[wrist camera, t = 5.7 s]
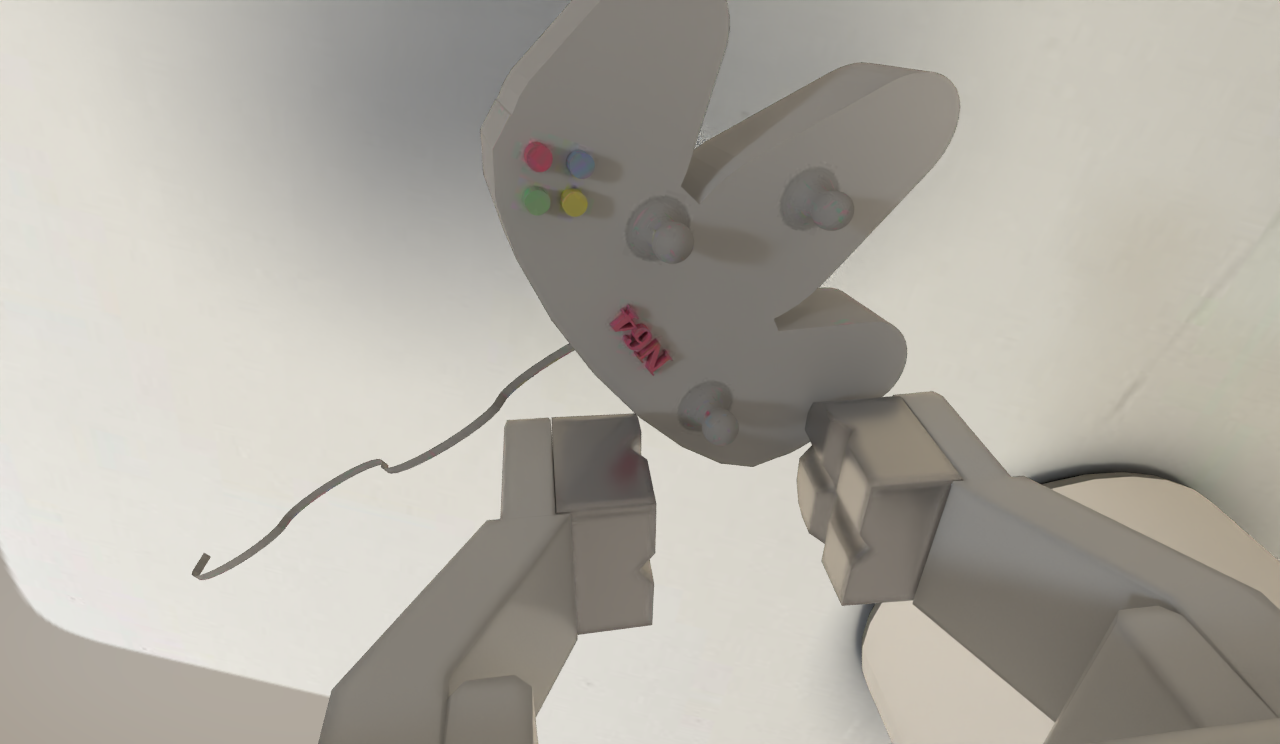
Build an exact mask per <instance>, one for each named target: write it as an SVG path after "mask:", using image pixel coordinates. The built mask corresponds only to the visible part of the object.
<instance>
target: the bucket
mask: <svg viewBox="0 0 1280 744" xmlns="http://www.w3.org/2000/svg"><path fill="white" fill-rule="evenodd" d="M1041 485H1043V486H1046V487H1048V488H1050V489H1052V490H1054V491H1056V492H1058V493H1060V494H1062V495H1064V496H1066V497H1068V498H1070V499H1072V500H1074V501H1076V502H1078V503H1080V504H1082V505H1084V506H1086V507H1088V508H1090V509H1093V510H1095V511H1097V512H1099V513H1101V514H1103V515H1105V516H1107V517H1109V518H1111V519H1113V520H1115V521H1117V522H1119V523H1121V524H1123V525H1125V526H1127V527H1129V528H1131V529H1133V530H1135V531H1138V532H1140V533H1142V534H1144V535H1146V536H1148V537H1150V538H1152V539H1154V540H1156V541H1158V542H1160V543H1162V544H1164V545H1166V546H1168V547H1170V548H1172V549H1174V550H1176V551H1178V552H1180V553H1182V554H1185V555H1187V556H1189V557H1191V558H1193V559H1195V560H1197V561H1199V562H1201V563H1203V564H1205V565H1207V566H1209V567H1211V568H1213V569H1215V570H1217V571H1219V572H1221V573H1223V574H1225V575H1227V576H1230V577H1232V578H1234V579H1236V580H1238V581H1240V582H1242V583H1244V584H1246V585H1248V586H1250V587H1252V588H1254V589H1256V590H1258V591H1260V592H1262V593H1263V594H1264V595H1265V596H1266V597H1267V598H1268V599H1269V600H1270V601H1271V602H1272V603H1273V604H1274V605H1275V606H1277V607H1278V608H1279V609H1280V562H1279V561H1278V560H1277V559H1276V558H1275V557H1274V556H1273V555H1271V554H1270V553H1269V552H1268V551H1267V550H1266V549H1265V548H1263V547H1262V546H1261V545H1260V544H1259V543H1258V542H1257V541H1255V540H1254V539H1253V538H1252V537H1251V536H1250V535H1249V534H1248V533H1246V532H1245V531H1244V530H1243V529H1242V528H1241V527H1240V526H1238V525H1237V524H1236V523H1235V522H1234V521H1233V520H1232V519H1230V518H1229V517H1228V516H1227V515H1226V514H1225V513H1224V512H1222V511H1221V510H1220V509H1219V508H1218V507H1217V506H1216V505H1215V504H1213V503H1212V502H1211V501H1209V500H1208V499H1206V498H1205V497H1204V496H1202V495H1201V494H1200V493H1198V492H1197V491H1196V490H1194V489H1191V488H1188V487H1186V486H1183V485H1181V484H1178V483H1175V482H1172V481H1169V480H1167V479H1164V478H1161V477H1158V476H1155V475H1146V474H1136V473H1127V472H1115V473H1101V474H1087V475H1081V476H1077V477H1072V478H1068V479H1063V480H1058V481H1054V482H1049V483H1045V484H1041ZM912 603H913V600H912V601H898V602H885V603H876V604H875V605H874V607H873V609H872V611H871V612H870V614H869V617H868V620H867V624H866V627H865V630H864V633H863V636H862V671H863V674H864V677H865V680H866V683H867V686H868V688H869V691H870V693H871V695H872V698H873V700H874V702H875V704H876V707H877V709H878V711H879V714H880V716H881V718H882V720H883V723H884V725H885V727H886V730H887V732H888V734H889V736H890V739H891V741H892V743H893V744H1043V743H1044V741H1045V739H1046V738H1047V736H1048V734H1049V732H1050V731H1051V729H1052V727H1053V725H1054V724H1055V722H1053V721H1052V720H1051V719H1050V718H1049V717H1047V716H1046V715H1045V714H1044V713H1043V712H1041V711H1040V710H1039V709H1038V708H1037V707H1035V706H1034V705H1033V704H1032V703H1031V702H1029V701H1028V700H1027V699H1026V698H1025V697H1023V696H1022V695H1021V694H1020V693H1019V692H1017V691H1016V690H1015V689H1014V688H1013V687H1011V686H1010V685H1009V684H1008V683H1007V682H1005V681H1004V680H1003V679H1002V678H1001V677H999V676H998V675H997V674H996V673H995V672H993V671H992V670H991V669H990V668H989V667H987V666H986V665H985V664H984V663H983V662H981V661H980V660H979V659H978V658H977V657H975V656H974V655H973V654H972V653H971V652H969V651H968V650H967V649H966V648H965V647H963V646H962V645H961V644H960V643H959V642H957V641H956V640H955V639H954V638H953V637H951V636H950V635H949V634H948V633H947V632H945V631H944V630H943V629H942V628H941V627H939V626H938V625H937V624H936V623H935V622H933V621H932V620H931V619H930V618H929V617H927V616H926V615H925V614H924V613H922V612H921V611H920V610H919V609H918V608H916V607H915V606H914V605H913V604H912Z"/></svg>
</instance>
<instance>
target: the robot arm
mask: <svg viewBox="0 0 1280 744" xmlns="http://www.w3.org/2000/svg"><path fill="white" fill-rule="evenodd" d="M805 432H806V434H807V436H808V438H809V439H810V441H811V443H812V446H811V447H810V448H809V449H808V450H807V451H806V452H805V453H804V454H803V455H802V456H801V457H800V458H799V466H798V473H797V493H798V503H799V507H800V510H801V514H802V518H803V520H804V522H805V525H806V527H807V530H808V532H809V533H810V534H811V535H813V536H814V537H816V538H817V539H819V540H820V541H821V542H823V543H824V544H825V546H824V551H823V556H822V563H823V566H824V568H825V570H826V572H827V574H828V577H829V579H830V581H831V583H832V585H833V588H834V590H835V592H836V594H837V596H838V599H839V601H840V603H841V605H842V606H845V605H858V604H871V603H885V602H898V601H912V600H913V603H912V604H913V605H914V606H915V607H916V608H918V609H919V610H920V611H921V612H922V613H924V614H925V615H926V616H927V617H929V618H930V619H931V620H932V621H933V622H935V623H936V624H937V625H938V626H939V627H941V628H942V629H943V630H944V631H945V632H947V633H948V634H949V635H950V636H951V637H953V638H954V639H955V640H956V641H957V642H959V643H960V644H961V645H962V646H963V647H965V648H966V649H967V650H968V651H969V652H971V653H972V654H973V655H974V656H975V657H977V658H978V659H979V660H980V661H981V662H983V663H984V664H985V665H986V666H987V667H989V668H990V669H991V670H992V671H993V672H995V673H996V674H997V675H998V676H999V677H1001V678H1002V679H1003V680H1004V681H1005V682H1007V683H1008V684H1009V685H1010V686H1011V687H1013V688H1014V689H1015V690H1016V691H1017V692H1019V693H1020V694H1021V695H1022V696H1023V697H1025V698H1026V699H1027V700H1028V701H1029V702H1031V703H1032V704H1033V705H1034V706H1035V707H1037V708H1038V709H1039V710H1040V711H1041V712H1043V713H1044V714H1045V715H1046V716H1047V717H1049V718H1050V719H1051V720H1052V721H1053V722H1055V724H1054V725H1053V727H1052V729H1051V731H1050V732H1049V734H1048V736H1047V738H1046V739H1045V741H1044V743H1043V744H1280V609H1279V608H1278V607H1277V606H1275V605H1274V604H1273V603H1272V602H1271V601H1270V600H1269V599H1268V598H1267V597H1266V596H1265V595H1264V594H1263V593H1262V592H1260V591H1258V590H1256V589H1254V588H1252V587H1250V586H1248V585H1246V584H1244V583H1242V582H1240V581H1238V580H1236V579H1234V578H1232V577H1230V576H1227V575H1225V574H1223V573H1221V572H1219V571H1217V570H1215V569H1213V568H1211V567H1209V566H1207V565H1205V564H1203V563H1201V562H1199V561H1197V560H1195V559H1193V558H1191V557H1189V556H1187V555H1185V554H1182V553H1180V552H1178V551H1176V550H1174V549H1172V548H1170V547H1168V546H1166V545H1164V544H1162V543H1160V542H1158V541H1156V540H1154V539H1152V538H1150V537H1148V536H1146V535H1144V534H1142V533H1140V532H1138V531H1135V530H1133V529H1131V528H1129V527H1127V526H1125V525H1123V524H1121V523H1119V522H1117V521H1115V520H1113V519H1111V518H1109V517H1107V516H1105V515H1103V514H1101V513H1099V512H1097V511H1095V510H1093V509H1090V508H1088V507H1086V506H1084V505H1082V504H1080V503H1078V502H1076V501H1074V500H1072V499H1070V498H1068V497H1066V496H1064V495H1062V494H1060V493H1058V492H1056V491H1054V490H1052V489H1050V488H1048V487H1046V486H1043V485H1041V484H1039V483H1037V482H1035V481H1033V480H1031V479H1029V478H1027V477H1025V476H1016V477H1011V476H1010V475H1009V474H1008V473H1007V471H1006V470H1005V469H1004V468H1003V467H1002V465H1001V464H1000V463H999V462H998V461H997V460H996V458H995V457H994V456H993V455H992V454H991V452H990V451H989V450H988V449H987V448H986V447H985V445H984V444H983V443H982V442H981V441H980V439H979V438H978V437H977V436H976V435H975V434H974V432H973V431H972V430H971V429H970V428H969V426H968V425H967V424H966V423H965V422H964V421H963V419H962V418H961V417H960V416H959V415H958V413H957V412H956V411H955V410H954V409H953V408H952V406H951V405H950V404H949V403H948V402H947V400H946V399H945V398H944V397H943V396H942V395H940V394H938V393H935V392H933V391H930V392H919V393H909V394H899V395H893V396H892V397H879V398H865V399H851V400H837V401H824V402H813V403H812V405H811V407H810V409H809V411H808V414H807V419H806V424H805ZM552 442H553V445H552ZM655 538H656V501H655V496H654V491H653V486H652V481H651V476H650V471H649V466H648V461H647V459H645V458H644V457H643V456H641V429H640V425H639V420H638V417H637V415H636V413H635V414H614V415H592V416H570V417H552V432H551V420H550V419H549V418H535V419H519V420H507V422H506V424H505V427H504V446H503V470H502V494H501V518H500V519H497V520H488V521H486V522H485V523H484V524H483V525H482V526H481V527H480V528H479V530H478V531H477V532H476V533H475V534H474V535H473V536H472V537H471V538H470V539H469V540H468V542H467V543H466V544H465V545H464V546H463V547H462V548H461V549H460V550H459V551H458V553H457V554H456V555H455V556H454V557H453V558H452V559H451V560H450V561H449V562H448V563H447V565H446V566H445V567H444V568H443V569H442V570H441V571H440V572H439V573H438V574H437V575H436V577H435V578H434V579H433V580H432V581H431V582H430V583H429V584H428V585H427V586H426V587H425V589H424V590H423V591H422V592H421V593H420V594H419V595H418V596H417V597H416V598H415V600H414V601H413V602H412V603H411V604H410V605H409V606H408V607H407V608H406V609H405V610H404V612H403V613H402V614H401V615H400V616H399V617H398V618H397V619H396V620H395V621H394V622H393V624H392V625H391V626H390V627H389V628H388V629H387V630H386V631H385V632H384V633H383V635H382V636H381V637H380V638H379V639H378V640H377V641H376V642H375V643H374V644H373V645H372V647H371V648H370V649H369V650H368V651H367V652H366V653H365V654H364V655H363V656H362V657H361V659H360V660H359V661H358V662H357V663H356V664H355V665H354V666H353V667H352V668H351V670H350V671H349V672H348V673H347V674H346V675H345V676H344V677H343V678H342V679H341V680H340V682H339V683H338V684H337V685H336V686H335V687H334V688H333V689H332V691H331V695H330V699H329V703H328V707H327V711H326V715H325V719H324V723H323V727H322V731H321V735H320V739H319V743H318V744H538V736H537V727H536V716H537V714H538V712H539V710H540V709H541V707H542V705H543V703H544V701H545V699H546V697H547V695H548V694H549V692H550V690H551V688H552V686H553V684H554V682H555V681H556V679H557V677H558V675H559V673H560V671H561V669H562V667H563V666H564V664H565V662H566V660H567V658H568V656H569V654H570V653H571V651H572V649H573V647H574V645H575V643H576V641H577V635H579V634H587V633H595V632H602V631H610V630H618V629H625V628H633V627H641V626H648V625H652V616H653V595H654V581H653V576H652V570H651V564H650V558H651V557H652V556H653V555H654V554H655Z"/></svg>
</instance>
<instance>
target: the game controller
mask: <svg viewBox="0 0 1280 744" xmlns="http://www.w3.org/2000/svg"><path fill="white" fill-rule="evenodd" d="M729 30H730V16H729V10H728V4H727V1H726V0H572V1H571V2H570V3H569V5H568V6H567V7H566V8H565V9H564V10H563V11H562V13H561V14H560V15H559V16H558V17H557V18H556V19H555V20H554V22H553V23H552V24H551V25H550V26H549V27H548V28H547V30H546V31H545V32H544V33H543V34H542V35H541V36H540V38H539V39H538V40H537V41H536V42H535V43H534V44H533V45H532V47H531V48H530V49H529V50H528V51H527V52H526V53H525V55H524V56H523V57H522V58H521V59H520V60H519V61H518V63H517V64H516V65H515V66H514V67H513V68H512V69H511V71H510V73H509V74H508V76H507V78H506V79H505V81H504V82H503V85H502V87H501V90H500V92H499V95H498V98H497V99H495V101H494V103H493V105H492V107H491V109H490V111H489V113H488V115H487V117H486V119H485V121H484V123H483V125H482V127H481V129H480V131H481V146H482V160H483V174H484V177H485V180H486V183H487V185H488V188H489V191H490V194H491V197H492V199H493V202H494V205H495V208H496V210H497V213H498V216H499V219H500V222H501V224H502V227H503V230H504V232H505V234H506V236H507V239H508V241H509V243H510V246H511V248H512V250H513V252H514V255H515V257H516V259H517V261H518V263H519V265H520V267H521V268H522V270H523V272H524V274H525V275H526V277H527V279H528V280H529V282H530V284H531V286H532V287H533V289H534V291H535V293H536V294H537V296H538V298H539V299H540V301H541V303H542V305H543V306H544V308H545V310H546V312H547V313H548V315H549V317H550V318H551V320H552V322H553V323H554V324H555V325H556V327H557V328H558V329H559V330H560V332H561V333H562V334H563V335H564V337H565V338H566V339H567V341H568V342H569V344H567V345H565V346H564V347H562V348H560V349H559V350H557V351H555V352H554V353H552V354H550V355H549V356H547V357H546V358H544V359H543V360H541V361H540V362H538V363H537V364H535V365H534V366H532V367H531V368H529V369H528V370H527V371H525V372H524V373H523V374H521V375H520V376H518V377H517V378H516V379H515V380H514V381H512V382H511V383H510V384H509V385H508V386H507V387H506V388H505V389H504V390H503V391H502V392H501V393H500V394H499V396H498V397H497V399H496V400H495V402H494V403H493V405H492V406H491V407H490V408H489V409H488V410H487V411H486V412H485V413H483V414H482V415H481V416H480V417H479V418H477V419H476V420H475V421H474V422H472V423H471V424H469V425H468V426H467V427H465V428H464V429H463V430H461V431H460V432H458V433H457V434H455V435H454V436H452V437H450V438H449V439H447V440H446V441H444V442H443V443H441V444H439V445H437V446H436V447H434V448H432V449H431V450H429V451H427V452H425V453H423V454H421V455H419V456H417V457H416V458H413V459H411V460H409V461H407V462H405V463H402V464H400V465H397V466H394V467H390V468H388V465H387V464H386V463H385V462H384V461H382V460H380V459H376V460H371V461H368V462H365V463H363V464H360V465H358V466H356V467H354V468H352V469H350V470H348V471H346V472H344V473H343V474H341V475H339V476H337V477H336V478H334V479H332V480H331V481H329V482H327V483H326V484H324V485H323V486H321V487H320V488H318V489H317V490H315V491H314V492H312V493H311V494H310V495H308V496H307V497H305V498H304V499H303V500H301V501H300V502H299V503H298V504H297V505H295V506H294V507H293V508H292V509H291V510H290V511H289V512H288V513H287V514H286V515H285V516H284V517H283V519H282V520H281V521H280V523H279V524H278V525H277V526H276V527H275V528H274V529H273V530H272V531H271V532H270V533H269V534H268V535H267V536H265V537H264V538H263V539H262V540H261V541H259V542H258V543H257V544H255V545H254V546H252V547H251V548H250V549H248V550H247V551H245V552H244V553H242V554H241V555H239V556H238V557H236V558H234V559H233V560H231V561H229V562H228V563H226V564H224V565H222V566H220V567H218V568H217V569H215V570H212V571H210V572H208V573H205V574H202V575H200V573H201V572H202V570H203V568H204V567H205V565H206V564H207V562H208V560H209V559H210V556H209V555H207V554H205V553H204V554H203V555H202V557H201V559H200V560H199V562H198V563H197V565H196V566H195V568H194V570H193V572H192V575H193V576H194V577H196V578H198V579H199V580H206V579H209V578H212V577H215V576H217V575H220V574H222V573H224V572H226V571H228V570H230V569H232V568H233V567H235V566H237V565H238V564H240V563H242V562H243V561H245V560H247V559H248V558H250V557H251V556H253V555H254V554H256V553H257V552H258V551H260V550H261V549H263V548H264V547H265V546H267V545H268V544H269V543H270V542H272V541H273V540H274V539H275V538H276V537H277V536H278V535H279V534H281V533H282V532H283V531H284V529H285V528H286V527H287V525H288V524H289V523H290V521H291V520H292V519H293V518H294V517H295V516H296V515H297V514H298V513H299V512H300V511H301V510H303V509H304V508H305V507H306V506H307V505H309V504H310V503H311V502H313V501H314V500H316V499H317V498H318V497H320V496H321V495H323V494H324V493H326V492H327V491H329V490H330V489H332V488H333V487H335V486H337V485H338V484H340V483H342V482H343V481H345V480H347V479H349V478H351V477H352V476H354V475H356V474H358V473H360V472H362V471H365V470H367V469H369V468H372V467H375V466H377V465H381V468H383V469H384V470H385V471H387V472H388V473H391V474H392V473H398V472H401V471H404V470H407V469H410V468H412V467H414V466H417V465H419V464H421V463H423V462H425V461H427V460H429V459H431V458H433V457H435V456H437V455H438V454H440V453H442V452H443V451H445V450H447V449H449V448H450V447H452V446H453V445H455V444H457V443H458V442H460V441H461V440H463V439H464V438H466V437H467V436H469V435H470V434H471V433H473V432H474V431H476V430H477V429H478V428H480V427H481V426H482V425H484V424H485V423H486V422H487V421H488V420H490V419H491V418H492V417H493V416H494V415H495V414H496V413H497V412H498V411H499V410H500V408H501V407H502V405H503V404H504V402H505V401H506V399H507V398H508V397H509V396H510V395H511V394H512V393H513V392H514V391H515V390H516V389H517V388H519V387H520V386H521V385H522V384H523V383H525V382H526V381H527V380H529V379H530V378H531V377H533V376H534V375H536V374H537V373H538V372H540V371H541V370H543V369H544V368H546V367H547V366H549V365H551V364H552V363H554V362H555V361H557V360H559V359H560V358H562V357H564V356H565V355H567V354H569V353H570V352H572V351H574V350H575V351H576V352H577V353H578V354H579V356H580V357H581V358H582V359H583V361H584V362H585V363H586V364H587V366H588V367H589V368H590V370H591V371H592V372H593V373H594V374H595V375H596V376H597V377H598V378H599V379H600V380H601V381H602V382H603V383H604V384H605V385H606V386H607V387H608V388H609V389H610V390H611V391H612V392H613V393H614V394H615V395H617V396H618V397H619V398H620V399H621V400H622V401H623V402H624V403H625V404H626V405H627V406H628V407H629V408H630V409H631V410H632V411H633V412H634V413H636V415H637V416H639V417H640V418H641V419H643V420H644V421H646V422H647V423H648V424H650V425H651V426H653V427H654V428H656V429H657V430H659V431H660V432H661V433H663V434H664V435H666V436H667V437H669V438H670V439H672V440H673V441H674V442H676V443H677V444H679V445H680V446H682V447H684V448H686V449H688V450H691V451H693V452H695V453H698V454H700V455H702V456H705V457H707V458H709V459H712V460H714V461H716V462H719V463H721V464H731V465H740V466H749V467H754V466H756V465H759V464H762V463H764V462H767V461H769V460H772V459H775V458H777V457H781V456H783V455H786V454H789V453H791V452H793V451H795V450H797V449H799V448H801V447H802V446H804V445H805V444H807V443H809V442H810V439H809V438H808V436H807V434H806V432H805V424H806V419H807V414H808V411H809V409H810V407H811V405H812V403H813V402H824V401H837V400H851V399H865V398H879V397H883V396H884V395H885V394H886V393H887V392H889V390H890V389H891V388H892V387H893V386H894V385H895V384H896V382H897V381H898V379H899V378H900V376H901V374H902V372H903V370H904V367H905V364H906V359H907V345H906V341H905V339H904V336H903V335H902V333H901V332H900V331H899V330H898V329H897V328H896V327H895V326H893V325H892V324H890V323H889V322H887V321H886V320H884V319H883V318H881V317H880V316H878V315H877V314H875V313H874V312H872V311H871V310H869V309H868V308H866V307H865V306H863V305H862V304H860V303H859V302H857V301H856V300H855V299H853V298H852V297H850V296H849V295H847V294H846V293H844V292H843V291H840V290H838V289H835V288H819V287H820V286H821V285H822V284H823V283H824V282H825V281H826V280H827V279H828V278H829V277H830V276H831V275H832V274H833V272H834V271H835V270H836V269H837V268H838V267H839V266H840V265H841V264H842V263H843V262H844V261H845V260H846V259H847V258H848V257H849V256H850V255H851V253H852V252H853V251H854V250H855V249H856V248H857V247H858V246H859V245H860V244H861V243H862V242H863V241H864V240H865V239H866V238H867V237H868V236H869V234H870V233H871V232H872V231H873V230H874V229H875V228H876V227H877V226H878V225H879V224H880V223H881V222H882V221H883V220H884V219H885V218H886V217H887V216H888V214H889V213H890V212H891V211H892V210H893V209H894V208H895V207H896V206H897V205H898V204H899V203H900V202H901V201H902V200H903V199H904V198H905V197H906V195H907V194H908V193H909V192H910V191H911V190H912V189H913V188H914V187H915V186H916V185H917V184H918V183H919V182H920V181H921V180H922V179H923V178H924V176H925V175H926V174H927V173H928V172H929V171H930V170H931V169H932V168H933V167H934V166H935V164H936V163H937V162H938V160H939V159H940V158H941V156H942V155H943V154H944V152H945V150H946V149H947V147H948V145H949V144H950V142H951V139H952V137H953V135H954V133H955V130H956V127H957V123H958V120H959V113H960V99H959V95H958V92H957V89H956V87H955V86H954V84H953V83H952V81H951V80H949V79H948V78H947V77H945V76H944V75H941V74H938V73H935V72H929V71H922V70H915V69H908V68H901V67H894V66H887V65H880V64H873V63H863V62H861V63H853V64H849V65H846V66H843V67H840V68H838V69H836V70H834V71H832V72H830V73H828V74H826V75H824V76H822V77H821V78H819V79H817V80H815V81H813V82H812V83H810V84H808V85H806V86H804V87H803V88H801V89H799V90H797V91H795V92H794V93H792V94H790V95H788V96H786V97H785V98H783V99H781V100H779V101H777V102H776V103H774V104H772V105H770V106H769V107H767V108H765V109H763V110H761V111H760V112H758V113H756V114H754V115H752V116H751V117H749V118H747V119H745V120H743V121H742V122H740V123H738V124H736V125H734V126H733V127H731V128H729V129H727V130H725V131H724V132H722V133H720V134H718V135H717V136H715V137H713V138H711V139H709V140H708V141H706V142H704V143H703V144H701V145H700V146H699V147H697V148H696V149H695V150H694V148H695V144H696V141H697V138H698V135H699V132H700V129H701V126H702V122H703V119H704V116H705V113H706V110H707V107H708V104H709V100H710V97H711V94H712V91H713V88H714V85H715V82H716V78H717V75H718V72H719V69H720V66H721V63H722V59H723V56H724V53H725V50H726V47H727V43H728V37H729Z"/></svg>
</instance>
